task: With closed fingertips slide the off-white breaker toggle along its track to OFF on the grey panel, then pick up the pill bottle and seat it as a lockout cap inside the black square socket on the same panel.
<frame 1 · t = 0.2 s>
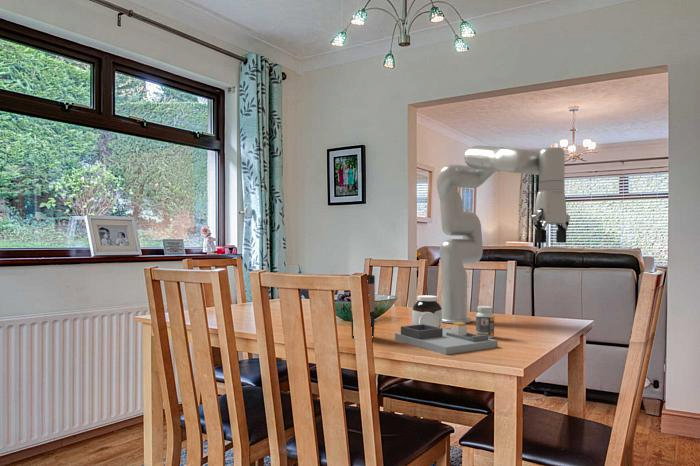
hand: (551, 242, 164), 31 cm above the table, fingers open, 9 cm apart
pill bottle: (485, 337, 171), on the table
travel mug: (362, 338, 169), on the table
spread jar: (428, 331, 183), on the table
panel: (444, 343, 161), on the table
toggle: (459, 329, 162), point 4 cm above the table, slide at 0.0 cm
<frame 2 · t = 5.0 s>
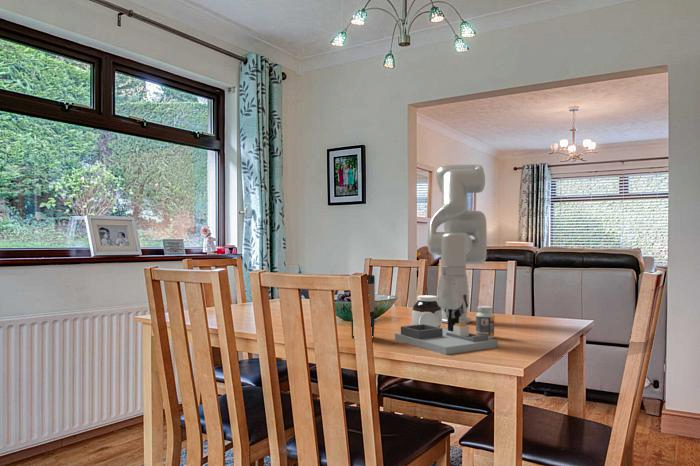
hand: (453, 330, 165), 3 cm above the table, fingers closed
toggle: (461, 329, 162), point 4 cm above the table, slide at 0.9 cm, touching gripper
everything else where it was.
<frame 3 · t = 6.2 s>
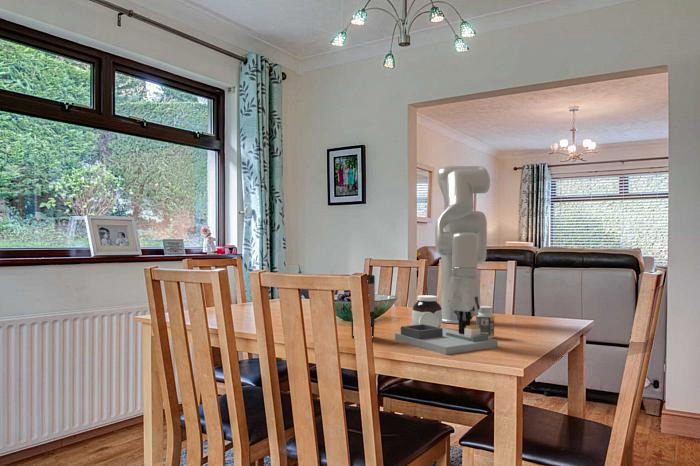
hand: (464, 333, 160), 3 cm above the table, fingers closed
toggle: (472, 332, 158), point 4 cm above the table, slide at 5.7 cm, touching gripper
everything else where it was.
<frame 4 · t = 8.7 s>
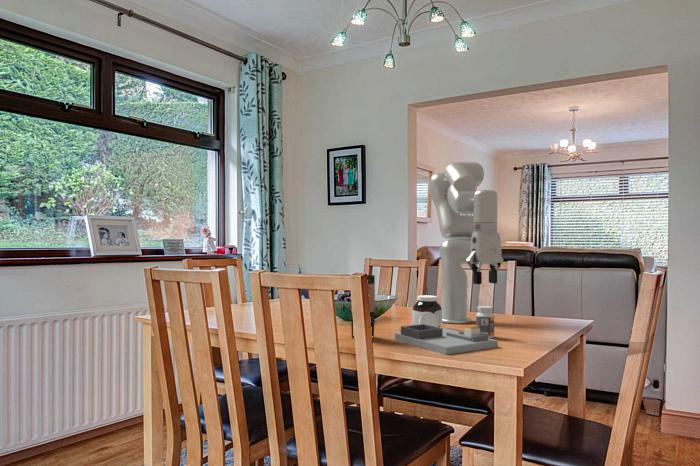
hand: (485, 283, 171), 18 cm above the table, fingers open, 6 cm apart
toggle: (471, 332, 158), point 4 cm above the table, slide at 5.5 cm
everything else where it was.
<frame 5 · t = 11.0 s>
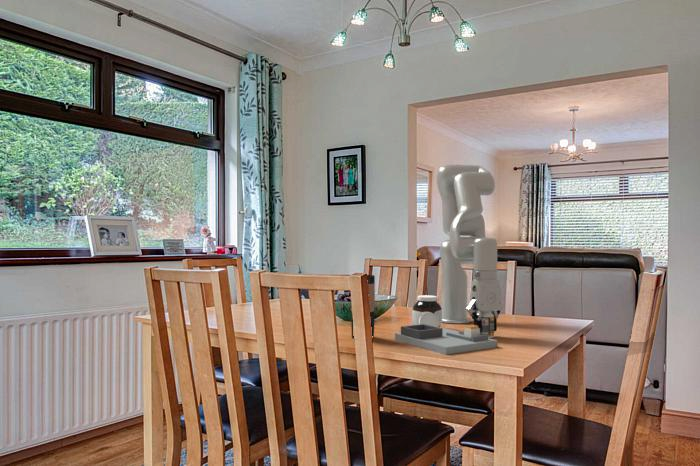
hand: (485, 330, 171), 2 cm above the table, fingers closed on pill bottle, 5 cm apart
pill bottle: (484, 337, 171), on the table, touching gripper
everything else where it was.
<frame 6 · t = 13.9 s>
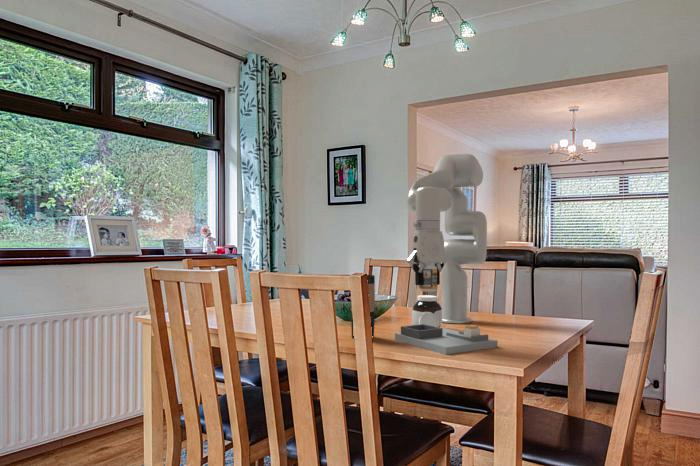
hand: (427, 284, 163), 18 cm above the table, fingers closed on pill bottle, 5 cm apart
pill bottle: (427, 291, 163), point 16 cm above the table, touching gripper
everything else where it was.
when the fingers open (5 cm above the table, at t = 16.8 s): pill bottle drops 1 cm, resting on panel.
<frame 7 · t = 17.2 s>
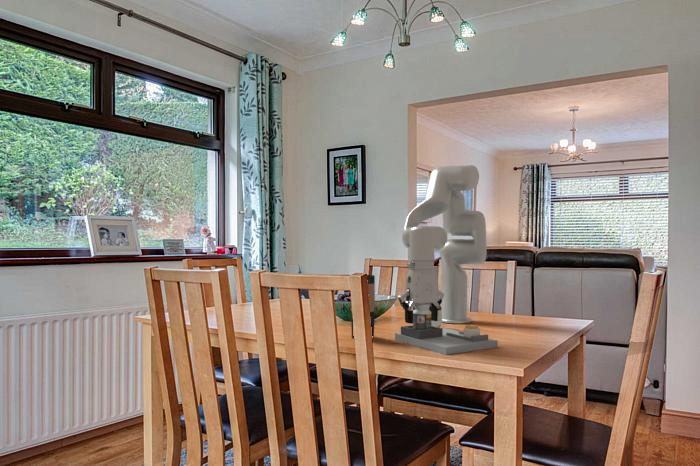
hand: (421, 321, 162), 6 cm above the table, fingers open, 9 cm apart
pill bottle: (422, 336, 163), point 2 cm above the table, touching panel
everything else where it was.
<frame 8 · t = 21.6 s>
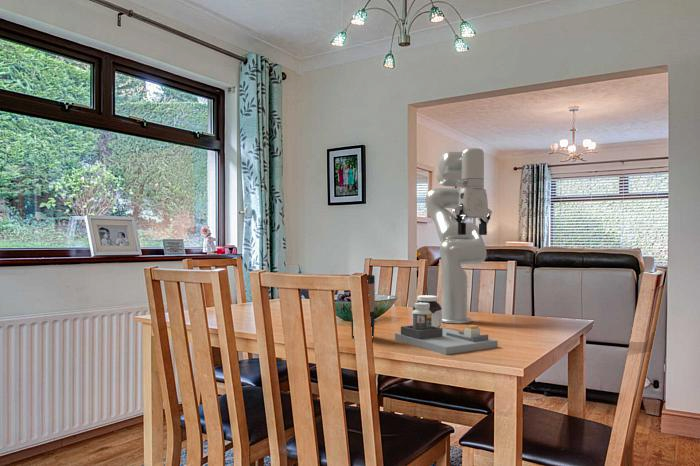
hand: (472, 234, 180), 33 cm above the table, fingers open, 9 cm apart
nothing on the table moved.
at the end: toggle slide at 5.5 cm; pill bottle 0.3 cm from the target spot, point 1.8 cm above the table; pill bottle tilted 0° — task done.
